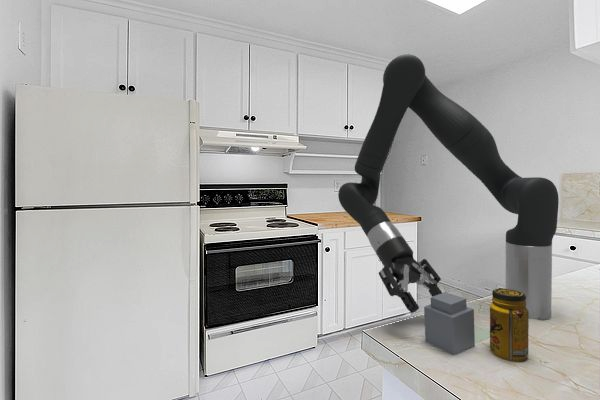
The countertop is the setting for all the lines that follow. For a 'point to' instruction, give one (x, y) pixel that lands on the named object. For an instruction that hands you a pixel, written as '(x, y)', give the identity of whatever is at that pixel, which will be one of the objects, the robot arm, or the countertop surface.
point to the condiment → (509, 325)
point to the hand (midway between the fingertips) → (429, 306)
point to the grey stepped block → (449, 323)
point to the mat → (480, 334)
